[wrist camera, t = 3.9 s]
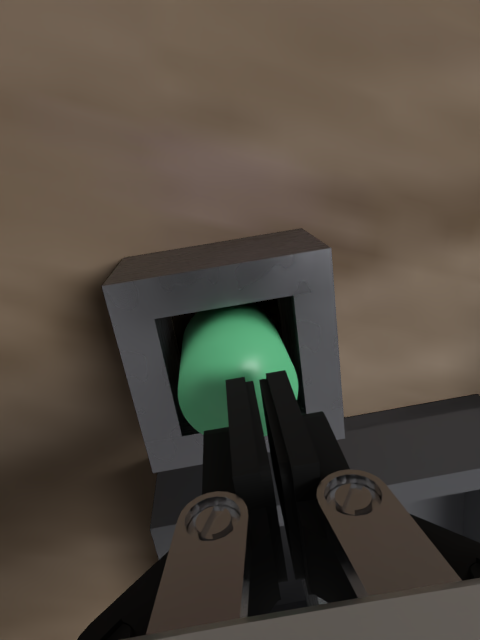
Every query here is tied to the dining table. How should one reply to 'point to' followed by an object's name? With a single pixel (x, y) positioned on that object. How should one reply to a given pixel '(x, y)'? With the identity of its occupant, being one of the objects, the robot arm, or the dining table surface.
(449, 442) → the tote
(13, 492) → the dining table surface
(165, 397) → the button housing
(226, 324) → the button
